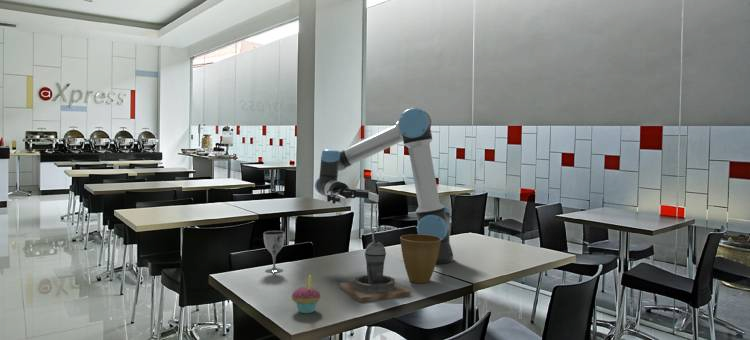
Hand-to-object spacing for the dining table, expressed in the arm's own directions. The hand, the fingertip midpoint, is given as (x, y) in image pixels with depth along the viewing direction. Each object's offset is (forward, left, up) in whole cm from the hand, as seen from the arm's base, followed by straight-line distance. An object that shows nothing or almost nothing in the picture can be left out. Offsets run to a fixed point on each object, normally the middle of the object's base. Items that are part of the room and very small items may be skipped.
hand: (361, 199), depth 191 cm
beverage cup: (+2, +16, -28) cm, 32 cm away
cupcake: (+29, +26, -30) cm, 49 cm away
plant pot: (-19, +10, -30) cm, 37 cm away
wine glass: (+27, -24, -30) cm, 46 cm away
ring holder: (+2, +16, -29) cm, 34 cm away
